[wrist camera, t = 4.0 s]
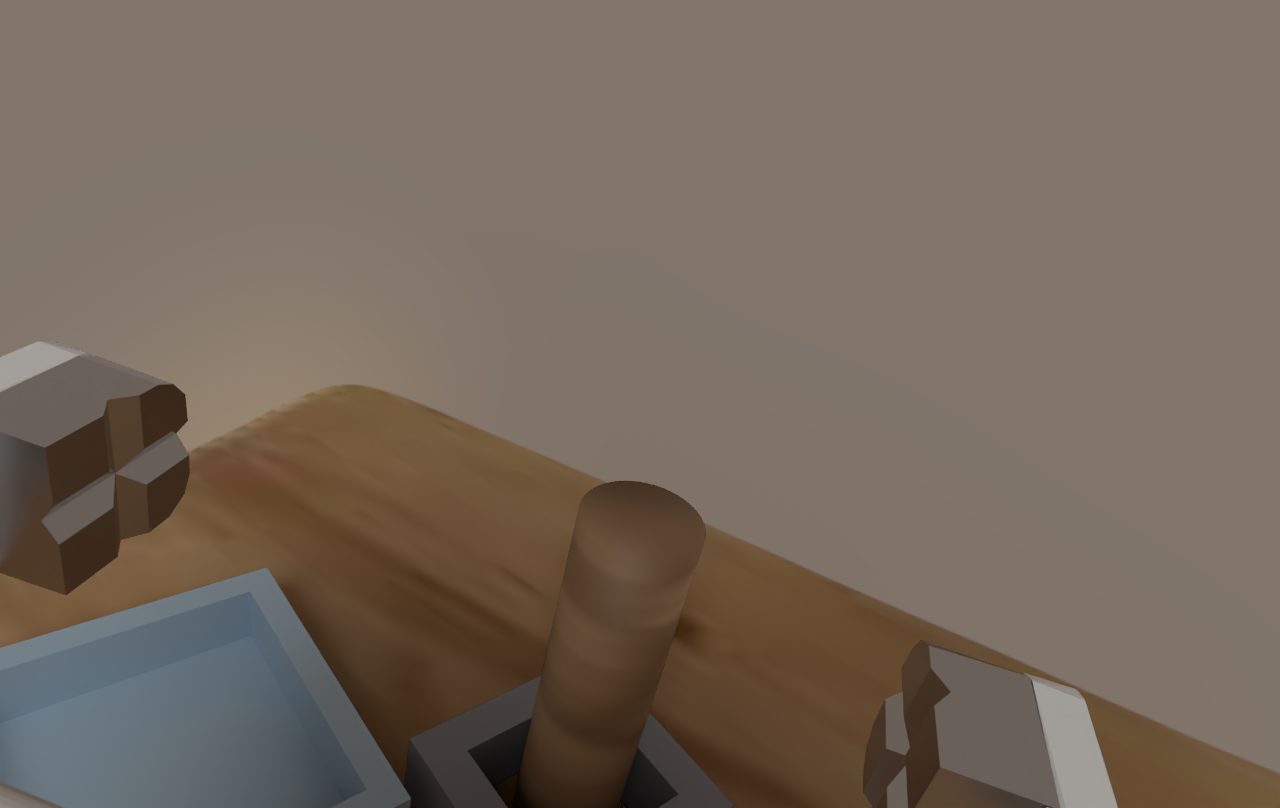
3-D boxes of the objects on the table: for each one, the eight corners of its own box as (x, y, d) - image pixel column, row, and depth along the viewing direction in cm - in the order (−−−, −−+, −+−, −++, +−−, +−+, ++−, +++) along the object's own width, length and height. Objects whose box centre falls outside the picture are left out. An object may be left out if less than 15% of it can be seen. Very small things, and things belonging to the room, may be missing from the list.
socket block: (580, 701, 35) (593, 650, 34) (712, 857, 31) (734, 805, 29) (403, 793, 30) (409, 738, 29) (529, 998, 25) (545, 944, 24)
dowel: (569, 765, 33) (648, 469, 26) (628, 840, 30) (731, 539, 24) (489, 811, 30) (553, 500, 23) (547, 896, 28) (636, 580, 21)
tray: (267, 621, 35) (267, 567, 34) (403, 854, 28) (411, 798, 27) (-112, 751, 28) (-132, 688, 26) (-53, 1117, 21) (-78, 1058, 19)
